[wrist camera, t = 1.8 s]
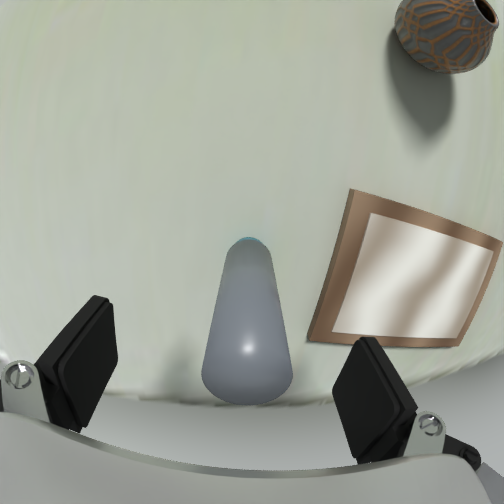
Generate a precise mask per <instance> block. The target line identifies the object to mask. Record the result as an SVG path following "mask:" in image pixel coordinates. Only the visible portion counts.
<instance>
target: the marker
mask: <svg viewBox="0 0 504 504" xmlns="http://www.w3.org/2000/svg"><path fill="white" fill-rule="evenodd" d="M201 375H202V380H203V383H204V384H205V386H206V388H207V389H208V390H209V391H210V392H211V393H212V394H213V395H215V396H216V397H218V398H219V399H221V400H224V401H226V402H229V403H233V404H238V405H258V404H263V403H266V402H269V401H272V400H274V399H276V398H277V397H279V396H280V395H282V394H283V393H284V392H285V391H286V390H287V389H288V387H289V386H290V384H291V381H292V377H293V371H292V365H291V360H290V354H289V348H288V343H287V337H286V332H285V326H284V321H283V316H282V310H281V305H280V300H279V294H278V289H277V284H276V279H275V273H274V268H273V263H272V258H271V254H270V252H269V250H268V249H267V247H266V246H265V245H263V244H262V243H261V242H260V241H259V240H257V239H255V238H252V237H246V238H242V239H240V240H239V241H237V242H236V243H235V244H234V245H233V246H232V247H231V248H230V249H229V251H228V253H227V256H226V260H225V264H224V269H223V273H222V278H221V282H220V287H219V291H218V296H217V300H216V305H215V309H214V314H213V319H212V323H211V328H210V333H209V337H208V342H207V347H206V352H205V357H204V361H203V366H202V374H201Z"/></svg>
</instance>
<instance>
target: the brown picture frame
mask: <svg viewBox="0 0 504 504" xmlns="http://www.w3.org/2000/svg"><path fill="white" fill-rule="evenodd" d="M502 244H503V242H502V241H500V240H498V239H495V238H493V237H491V236H488V235H486V234H484V233H481V232H479V231H476V230H474V229H471V228H469V227H466V226H464V225H461V224H459V223H456V222H453V221H451V220H448V219H445V218H443V217H440V216H437V215H434V214H431V213H428V212H426V211H423V210H420V209H417V208H414V207H411V206H408V205H405V204H401V203H398V202H395V201H392V200H389V199H385V198H382V197H379V196H375V195H372V194H368V193H365V192H361V191H357V190H354V189H350V191H349V195H348V199H347V203H346V207H345V211H344V215H343V219H342V223H341V226H340V230H339V234H338V238H337V241H336V245H335V248H334V252H333V255H332V259H331V262H330V266H329V269H328V272H327V275H326V279H325V282H324V285H323V288H322V291H321V295H320V298H319V301H318V304H317V307H316V310H315V313H314V316H313V319H312V322H311V324H310V327H309V330H308V333H307V334H308V338H309V341H318V342H329V343H342V344H354V343H355V341H356V340H359V338H360V337H362V336H364V337H375V338H376V339H377V341H378V342H379V344H380V345H381V346H401V347H453V346H459V344H460V343H461V341H462V339H463V337H464V335H465V333H466V332H467V330H468V328H469V326H470V324H471V322H472V320H473V318H474V316H475V314H476V311H477V309H478V307H479V305H480V303H481V300H482V298H483V296H484V294H485V291H486V289H487V286H488V284H489V281H490V279H491V276H492V274H493V271H494V268H495V265H496V262H497V260H498V257H499V254H500V251H501V247H502Z"/></svg>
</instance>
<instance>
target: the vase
mask: <svg viewBox="0 0 504 504" xmlns="http://www.w3.org/2000/svg"><path fill="white" fill-rule="evenodd" d="M498 26H499V21H498V17H497V15H496V13H495V11H494V10H493V8H492V7H491V5H490V4H489V3H488V2H487V1H486V0H403V1H402V2H401V3H400V5H399V7H398V9H397V12H396V15H395V29H396V33H397V36H398V39H399V41H400V43H401V44H402V46H403V48H404V49H405V50H406V52H407V53H408V54H409V55H410V56H411V57H412V58H413V59H414V60H416V61H417V62H418V63H420V64H421V65H423V66H424V67H426V68H428V69H430V70H433V71H436V72H440V73H446V74H457V73H463V72H467V71H470V70H472V69H474V68H476V67H478V66H479V65H480V64H481V63H483V61H484V60H485V59H486V58H487V56H488V55H489V53H490V50H491V46H492V41H493V35H494V33H495V31H496V29H497V28H498Z"/></svg>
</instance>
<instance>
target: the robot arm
mask: <svg viewBox="0 0 504 504" xmlns="http://www.w3.org/2000/svg"><path fill="white" fill-rule="evenodd" d="M117 362H118V353H117V345H116V335H115V325H114V312H113V304H112V303H109V299H108V298H105V297H101V296H97V295H94V296H92V297H91V298H90V300H89V301H88V302H87V303H86V304H85V305H84V306H83V307H82V308H81V309H80V311H79V312H78V313H77V314H76V315H75V316H74V317H73V318H72V320H71V321H70V322H69V323H68V324H67V325H66V326H65V327H64V328H63V330H62V331H61V332H60V333H59V334H58V336H57V337H56V338H55V339H54V340H53V342H52V343H51V344H50V345H49V346H48V348H47V349H46V350H45V351H44V353H43V354H42V355H41V356H40V358H39V359H38V360H37V361H36V363H35V364H34V365H33V364H32V363H30V362H28V361H24V360H19V361H14V362H11V363H10V364H8V365H7V366H6V367H5V368H4V369H3V371H2V374H1V379H0V504H504V477H502V476H501V475H500V474H498V473H497V472H496V471H495V470H493V469H492V468H491V467H489V466H488V465H487V464H486V463H484V462H483V463H482V464H481V457H480V454H479V452H478V451H477V450H476V449H475V448H474V447H472V446H470V445H468V444H466V443H463V442H461V441H459V440H457V439H455V438H453V437H450V436H448V435H446V434H445V433H446V426H445V423H444V421H443V420H442V419H441V418H440V417H439V416H438V415H437V414H435V413H433V412H428V411H424V412H420V413H419V414H418V415H417V414H416V412H415V411H416V410H417V408H418V407H417V405H416V403H415V401H414V399H413V398H412V396H411V394H410V393H409V391H408V389H407V388H406V386H405V384H404V383H403V381H402V379H401V378H400V376H399V374H398V373H397V371H396V369H395V368H394V366H393V364H392V363H391V361H390V360H389V358H388V356H387V355H386V353H385V352H384V350H383V348H382V347H381V345H380V344H379V342H378V341H377V339H376V338H375V337H364V336H362V337H360V338H359V340H356V341H355V343H354V345H353V347H352V349H351V351H350V354H349V356H348V358H347V360H346V362H345V364H344V366H343V368H342V370H341V372H340V374H339V376H338V378H337V380H336V382H335V384H334V386H333V389H332V394H333V398H334V401H335V404H336V407H337V410H338V413H339V416H340V419H341V422H342V425H343V428H344V431H345V435H346V438H347V441H348V444H349V447H350V450H351V454H352V456H353V458H356V460H357V463H358V465H353V466H345V467H337V468H327V469H315V470H293V471H261V470H240V469H228V468H218V467H209V466H202V465H195V464H188V463H182V462H177V461H171V460H166V459H162V458H157V457H153V456H149V455H144V454H140V453H137V452H133V451H129V450H126V449H122V448H119V447H116V446H112V445H109V444H106V443H103V442H100V441H97V440H94V439H91V438H88V437H86V436H83V435H80V434H78V433H80V431H81V429H82V427H85V428H86V427H87V425H88V423H89V421H90V419H91V417H92V415H93V413H94V410H95V408H96V406H97V404H98V402H99V400H100V398H101V396H102V393H103V391H104V389H105V387H106V385H107V383H108V381H109V379H110V377H111V375H112V373H113V371H114V369H115V367H116V365H117ZM69 429H70V430H73V431H75V432H77V433H75V432H72V431H70V430H69ZM370 462H371V463H370ZM359 464H360V465H359Z"/></svg>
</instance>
